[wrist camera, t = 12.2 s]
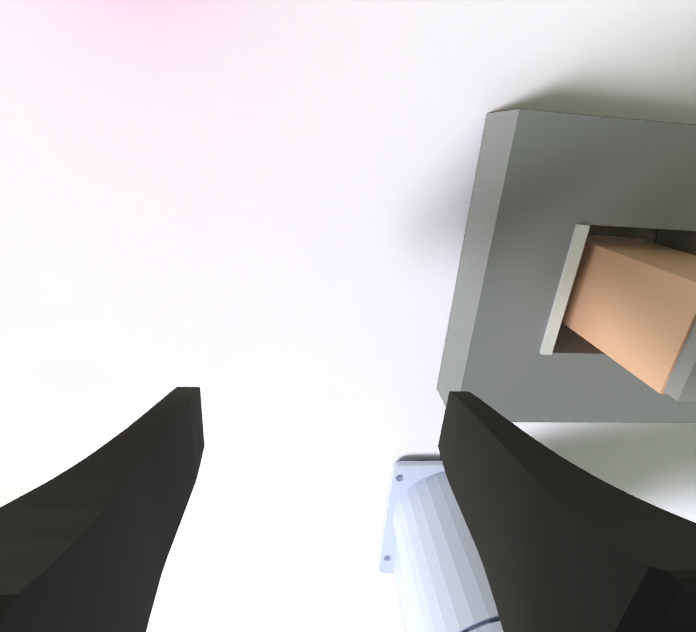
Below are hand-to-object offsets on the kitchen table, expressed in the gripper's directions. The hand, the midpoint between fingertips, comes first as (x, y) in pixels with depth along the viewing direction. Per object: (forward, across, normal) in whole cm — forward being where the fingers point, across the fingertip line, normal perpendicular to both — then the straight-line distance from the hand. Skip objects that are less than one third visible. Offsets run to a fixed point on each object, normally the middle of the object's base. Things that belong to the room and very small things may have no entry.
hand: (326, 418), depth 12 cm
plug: (+10, -14, -2) cm, 17 cm away
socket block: (+9, -14, -2) cm, 17 cm away
